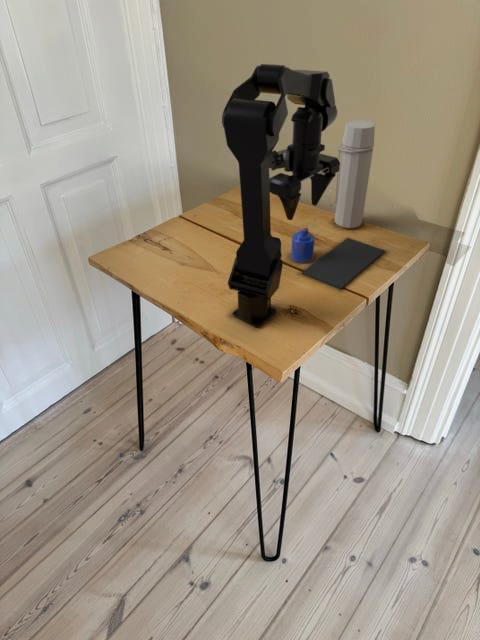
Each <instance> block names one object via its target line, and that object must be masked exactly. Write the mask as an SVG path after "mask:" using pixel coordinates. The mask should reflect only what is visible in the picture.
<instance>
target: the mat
mask: <svg viewBox="0 0 480 640" xmlns="http://www.w3.org/2000/svg"><path fill="white" fill-rule="evenodd" d="M385 251H386V250H385V249H383V248H379V247H376V246H374V245H370V244H367V243H366V242H365V243H364V242H362V241H358V240H356V239H352V238H350V237H347V238H345V239H344V240H343V241H342V242H340V243H339V244H337V245H336V246H335V247H334V248H332V249H331V250H329V251H328V252H326V253H325V254H324V255H323V256H322V257H320V258H318V260H316V261H314V262H313V263H312V264H310V265H309V266H308V267H307V268H306V269H304V270H303V271H301V274H302V275H303V276H306V277H309V278H311V279H314V280H315V281H319V282H321V283H323V284H326V285H329V286H330V287H332V288H333V287H334V288H336V289H338V290H342V289H343V288H345V287H346V286H347V285H348V284H349V283H350V282H352V281H353V280H354V279H355V278H356V277H358V276H359V275H360V274H361V273H362V272H363V271H364V270H366V269H367V268H368V267H369V266H371V264H373V263H374V262H375V261H376V260H377V259H378V258H380V257H381V256H382V255H383V254H384V253H385Z"/></svg>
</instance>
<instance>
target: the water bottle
mask: <svg viewBox="0 0 480 640" xmlns="http://www.w3.org/2000/svg"><path fill="white" fill-rule="evenodd" d="M375 128H376V124H375V123H374V122H373V121H369V120H364V119H363V120H361V119H357V120H349V121H347V122H346V123H345V128H344V132H343V137H342V143H341V144H339V145H338V146H337V148H338V150H337V151H338V154H337V158H340V157H341V158H340V169H339V173H337V175H336V187H335V199H334V202H333V203H332V204H331V195H332V189H333V185H334V181H335V177H334V178H333V179H332V181H331V186H330V189H329V190H330V191H329V196H328V204H329V207H334V206H335V214H334V223H336V225H337V226H338V227H340V228H342V229H347V230H348V229H350V230H351V229H357V228H359V227H360V226H361V225H362V223H363V219H364V214H365V213H364V212H365V206H366V198H367V193H368V185H369V179H370V172H371V165H372V158H373V153H374V147H375V130H376V129H375ZM340 155H341V156H340Z"/></svg>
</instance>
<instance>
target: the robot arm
mask: <svg viewBox="0 0 480 640" xmlns="http://www.w3.org/2000/svg"><path fill="white" fill-rule="evenodd" d="M330 77H331V76H330V73H329V72H328V71H324V70H309V69H292V68H289V67H287V66H286V65H285V64H271V63H261V64H260V65H257V66H256V67H255V68H254V70H253V72H252V74H251V76H250V77H248V78H247V79H246V80H245V81H244V82H242V83H240V84H239V85H238V86H237V87H236V88H234V90H233V91H232V93H231V95H230V96H229V99H228V101H227V102H226V104H225V106H224V109H223V111H222V114H221V115H222V116H221V124H222V127H223V131H224V136H225V141H226V146H227V148H228V149H229V150H230V152H231V154H232V155H233V156H234V158H235V159H236V161H237V164H238V176H239V188H240V189H239V191H240V201H241V202H240V203H241V216H242V230H243V232H242V233H243V240H242V242H241V244H240V245H239V247H238V248H237V250H236V252H235V258H234V262H233V265H232V268H231V271H230V274H229V277H228V280H227V285H228V289H229V290H232V291H233V290H234V291H237V309H235V310H234V311H232V313H231V314H232V317H234V318H236V319H238V320H241V321H243V322H244V323H246V324H248V325H250V326H252V327H254V328H259V327H260V326H262V325H263V324H264V323H265V322H267V321H268V320H269V319H270V318H271V317H273V316H274V315H275V314H277V309H276V308H274V307H272V297H273V296H274V295H275V293H276V292H277V291H278V290H279V288H280V284H281V277H282V272H283V265H284V264H283V260H282V257H283V254H282V240H281V239H280V237H277V236H273V235H272V231H271V230H272V227H271V224H272V223H271V194H272V195H274V196H277V197H278V198H279V200H280V202H281V204H282V207H283V210H284V213H285V216H286V219H287V220H289V221H292V220H293V219H294V216H295V214H296V211H297V209H298V205H299V201H300V199H301V196H302V193H301V192H300V191H301V189H302V182H304V181H306V180H308V179H310V184H311V185H310V188H311V189H310V191H311V192H310V196H311V197H310V199H311V205H312V206H315V207H316V206H317V205H318V203H319V202H320V201H321V198H322V197H323V195H324V194H325V192H326V190H327V188H328V187H329V186H330V184H331V183H332V181H333V178H334V179H335V178H336V176H337V175H336V173H337V174H338V173H339V172H340V166H341V161H340V159H339V158H338V157H335V156H332V155H328V154H324V153H322V152H325V150H326V149H325V148H326V145H325V144H322V133H323V132H324V131H325V130H327V128H329V127H330V126H331V125H332V124H333V123H334V122H335V121H336V118H338V117H337V116H338V109H337V108H338V107H337V105H336V100H335V99H336V98H335V92H334V85H333V80H332V78H330ZM261 94H270V95H271V94H272V95H280V96H279V98H278V100H277V103H275V102H274V101H270V100H260V99H258V98H259V96H260V95H261ZM286 99H287V100H288V101H289V102H291V103H292V104H294V105H301V106H298V107H297V108H296V110H295V112H294V113H293V114H292V115H291V119H290V121H291V122H292V138H291V139H292V140H291V144H287V147H286V149H281V150H278V151H277V150H276V149H275V148H276V146H277V144H278V142H279V140H280V134H281V133H280V132H281V130H282V128H283V126H284V124H285V122H286V120H287V117H288V115H289V110H288V105H287V100H286ZM302 106H304V107H302ZM278 169H283V171H284V172H287V173H290V172H291V175H289V174H286V173H283V172H279V173H278V174H275V175H273V176H271V177H270V170H271V171H272V172H273V171H276V170H278Z"/></svg>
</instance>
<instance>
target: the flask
mask: <svg viewBox="0 0 480 640" xmlns="http://www.w3.org/2000/svg"><path fill="white" fill-rule="evenodd" d="M315 240H316V237H315V234H313V233H311V232H310V231H309V226H308V224H301V225H300V227H299V230H298V231H297V232H296V233H293V234H292V235H291V251H290V258H291V260H292V261H294V262H296V263H299V264H307V263H310V262H312V261H313V260H314V256H315V255H314V253H315V242H316V241H315Z"/></svg>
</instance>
